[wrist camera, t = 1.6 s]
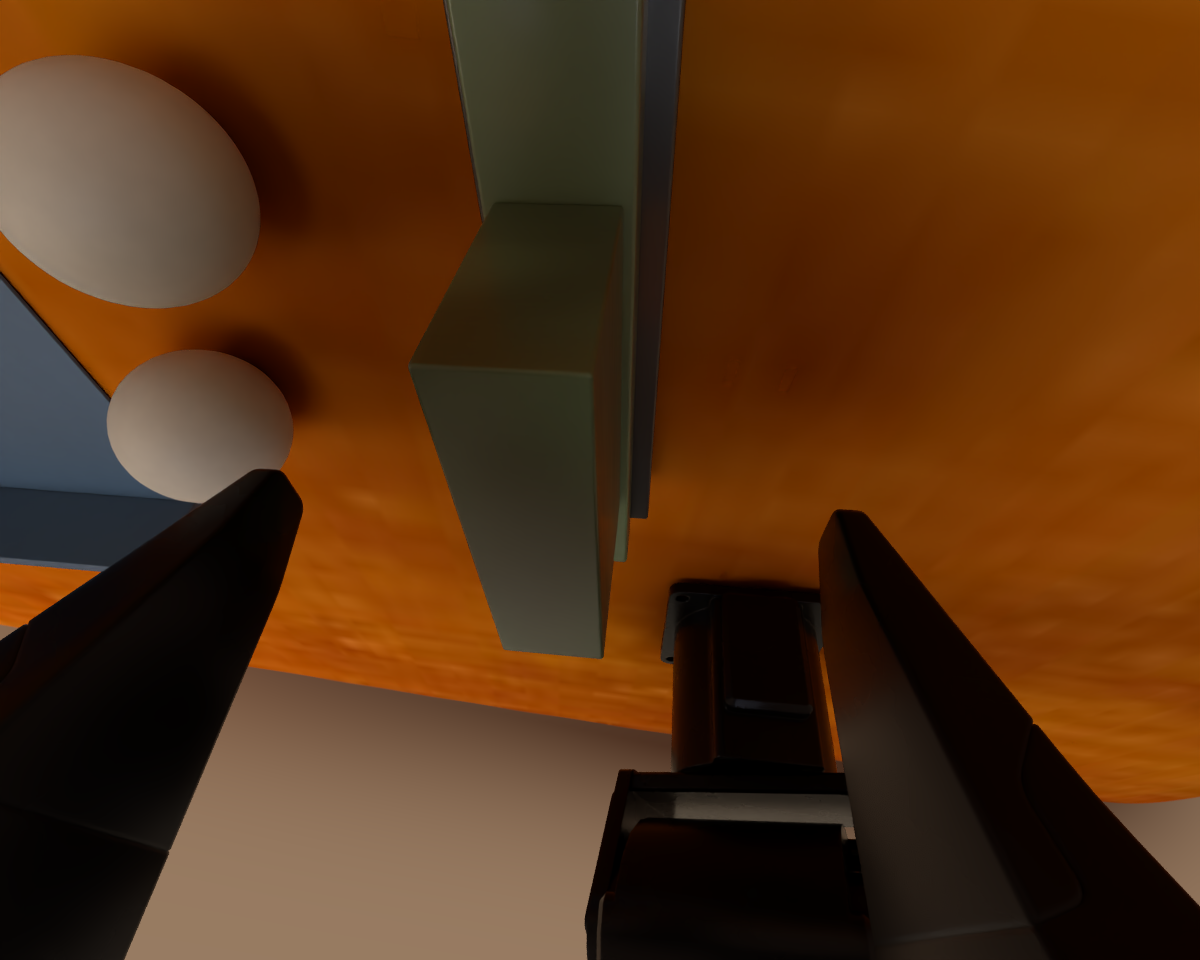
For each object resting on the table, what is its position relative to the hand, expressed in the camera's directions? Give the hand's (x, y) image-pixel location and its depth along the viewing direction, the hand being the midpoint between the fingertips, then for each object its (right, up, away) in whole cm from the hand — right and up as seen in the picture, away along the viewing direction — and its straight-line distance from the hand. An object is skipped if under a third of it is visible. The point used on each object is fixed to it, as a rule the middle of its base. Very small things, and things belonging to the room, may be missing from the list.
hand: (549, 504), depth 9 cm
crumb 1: (-7, +7, +2) cm, 11 cm away
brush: (+1, +5, +4) cm, 6 cm away
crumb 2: (-9, +3, +7) cm, 12 cm away
